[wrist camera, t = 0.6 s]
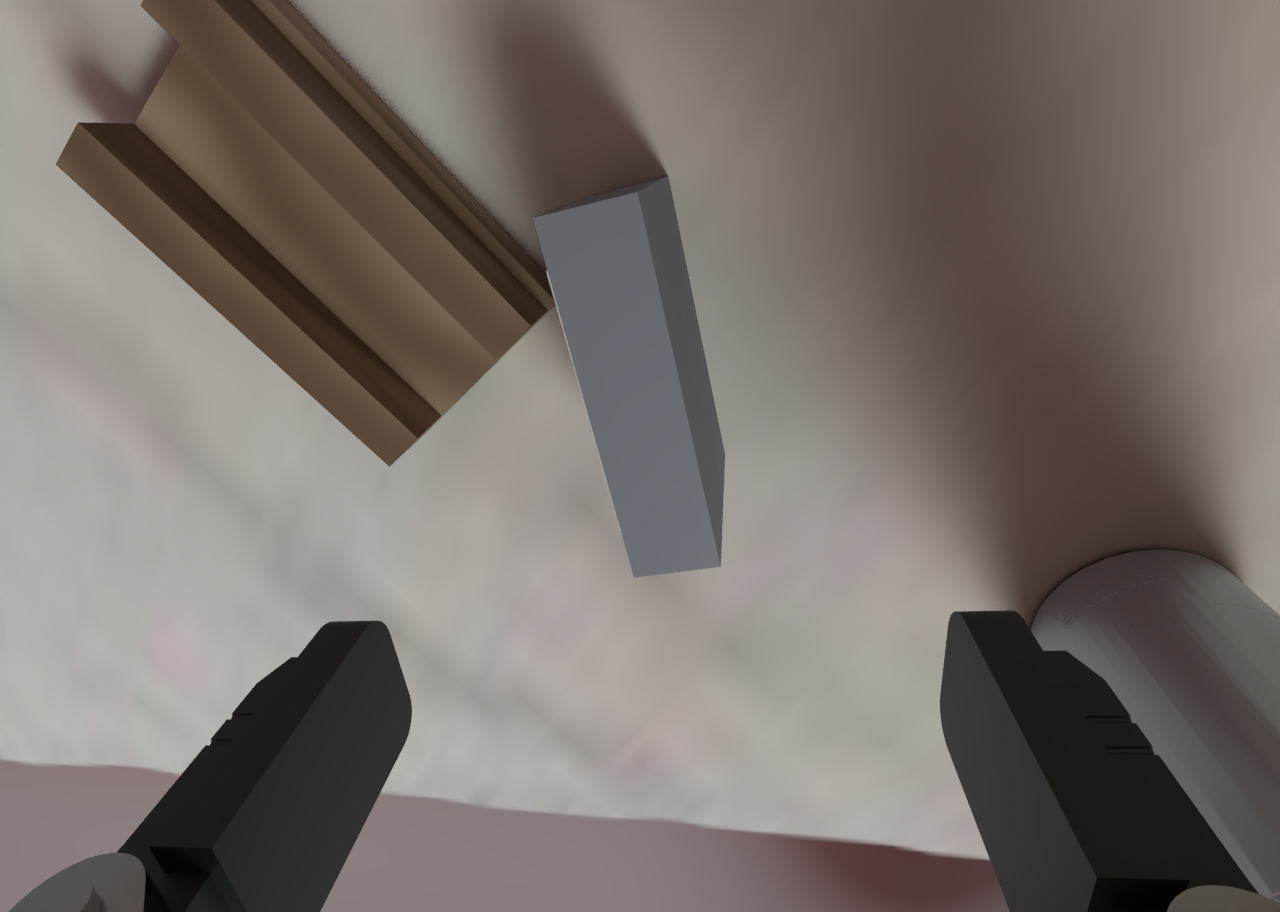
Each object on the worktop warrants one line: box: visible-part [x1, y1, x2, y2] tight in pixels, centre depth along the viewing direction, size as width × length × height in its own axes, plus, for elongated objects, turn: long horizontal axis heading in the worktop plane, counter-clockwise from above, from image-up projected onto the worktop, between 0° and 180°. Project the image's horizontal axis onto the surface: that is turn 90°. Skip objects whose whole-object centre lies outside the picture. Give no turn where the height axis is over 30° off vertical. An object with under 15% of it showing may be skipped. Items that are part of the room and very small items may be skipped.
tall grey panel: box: [533, 176, 725, 577], centre depth 25 cm, size 3×12×9 cm, turn 13°
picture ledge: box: [56, 0, 555, 467], centre depth 27 cm, size 10×16×4 cm, turn 43°
